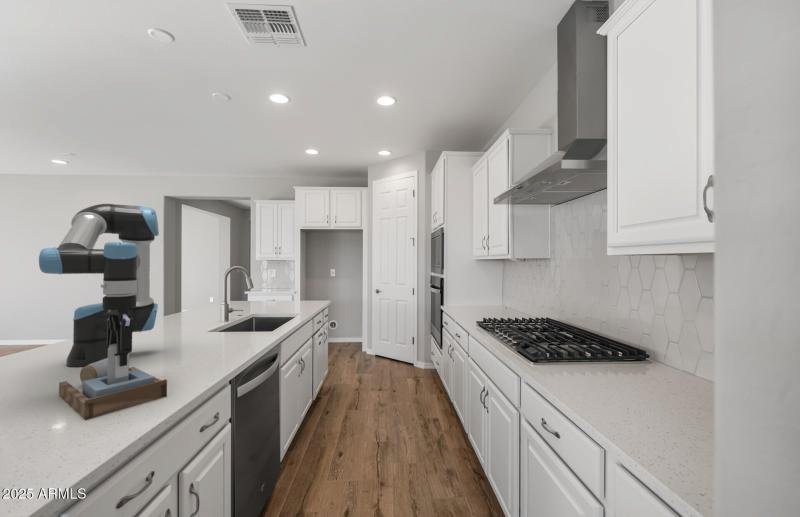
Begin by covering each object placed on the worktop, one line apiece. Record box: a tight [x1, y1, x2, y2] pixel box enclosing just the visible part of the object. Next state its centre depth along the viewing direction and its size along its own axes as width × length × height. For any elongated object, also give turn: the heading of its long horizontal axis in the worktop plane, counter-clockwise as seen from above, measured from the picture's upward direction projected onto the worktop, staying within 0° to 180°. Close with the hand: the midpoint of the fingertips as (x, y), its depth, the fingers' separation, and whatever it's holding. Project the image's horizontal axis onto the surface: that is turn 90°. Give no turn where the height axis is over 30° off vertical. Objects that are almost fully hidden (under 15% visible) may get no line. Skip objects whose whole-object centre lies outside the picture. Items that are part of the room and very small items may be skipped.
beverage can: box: [107, 343, 130, 385], centre depth 96 cm, size 5×5×12 cm
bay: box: [58, 366, 168, 421], centre depth 98 cm, size 26×18×6 cm
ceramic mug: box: [79, 358, 108, 384], centre depth 111 cm, size 11×8×8 cm
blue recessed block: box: [81, 368, 155, 399], centre depth 95 cm, size 12×13×6 cm
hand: (118, 374), depth 96 cm, fingers closed on beverage can, 5 cm apart
